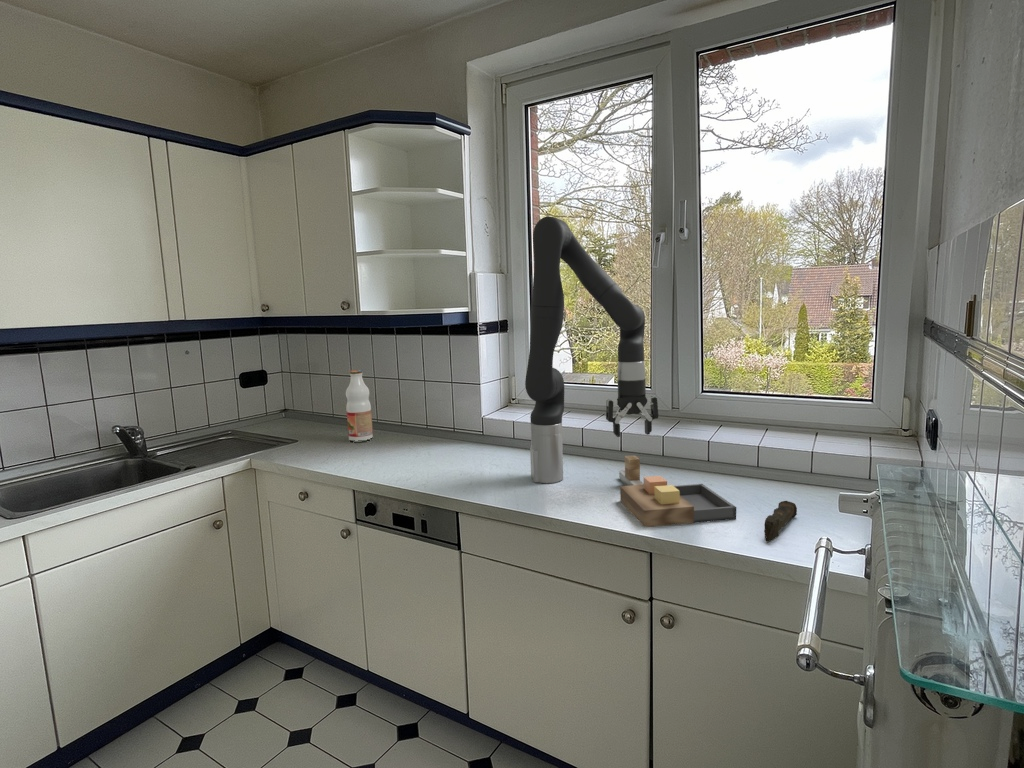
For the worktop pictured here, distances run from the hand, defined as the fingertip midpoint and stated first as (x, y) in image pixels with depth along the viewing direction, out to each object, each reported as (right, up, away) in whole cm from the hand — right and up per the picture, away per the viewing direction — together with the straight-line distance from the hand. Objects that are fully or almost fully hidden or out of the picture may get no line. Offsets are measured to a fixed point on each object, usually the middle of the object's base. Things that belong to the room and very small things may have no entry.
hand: (632, 435), depth 161 cm
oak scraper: (0, -15, +2) cm, 15 cm away
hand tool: (+27, -19, -31) cm, 45 cm away
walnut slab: (+2, -17, -18) cm, 25 cm away
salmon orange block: (+3, -11, -14) cm, 19 cm away
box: (+13, -17, -16) cm, 27 cm away
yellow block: (+4, -12, -22) cm, 25 cm away
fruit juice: (-94, -8, +70) cm, 117 cm away
